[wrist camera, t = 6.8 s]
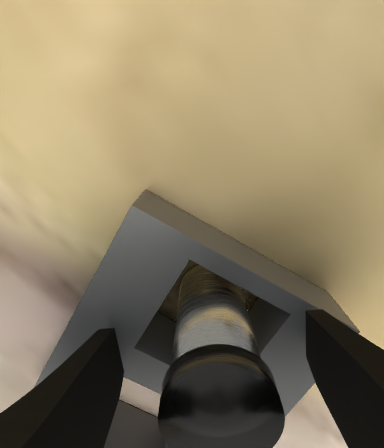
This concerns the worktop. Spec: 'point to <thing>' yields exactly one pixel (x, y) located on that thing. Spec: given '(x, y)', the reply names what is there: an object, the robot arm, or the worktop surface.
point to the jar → (217, 372)
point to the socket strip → (165, 328)
